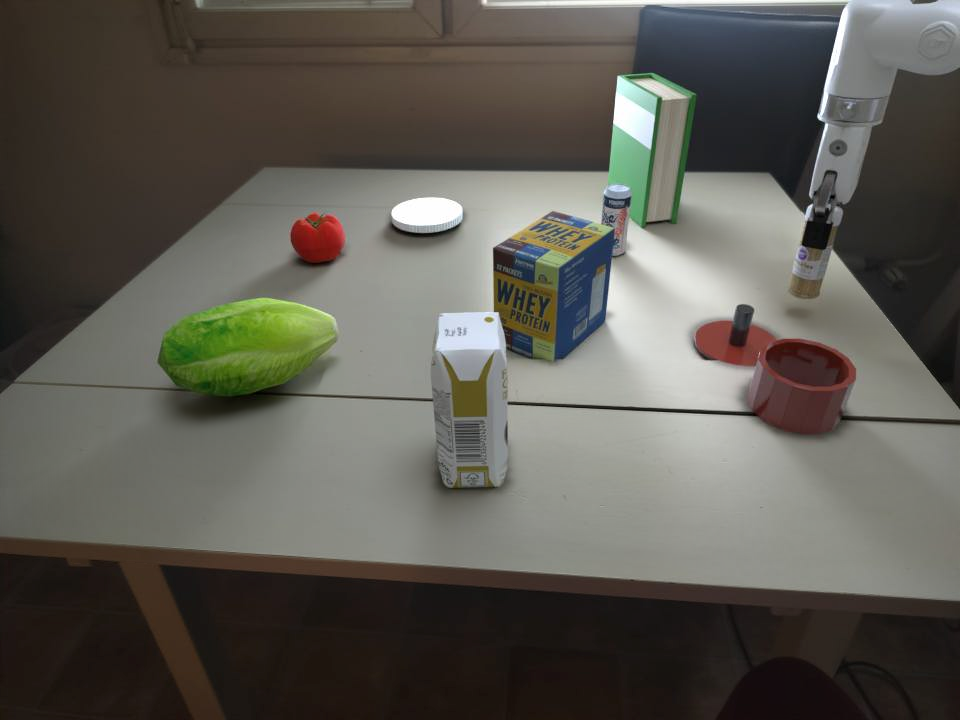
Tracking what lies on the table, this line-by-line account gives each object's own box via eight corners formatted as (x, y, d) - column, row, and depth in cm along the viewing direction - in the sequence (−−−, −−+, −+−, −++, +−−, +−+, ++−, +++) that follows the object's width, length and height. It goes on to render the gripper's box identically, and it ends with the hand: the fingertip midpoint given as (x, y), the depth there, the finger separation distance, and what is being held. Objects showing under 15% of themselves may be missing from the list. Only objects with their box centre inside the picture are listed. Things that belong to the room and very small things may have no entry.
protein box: (492, 344, 97) (490, 247, 88) (549, 300, 107) (553, 209, 98) (553, 369, 92) (558, 268, 83) (607, 320, 101) (617, 225, 92)
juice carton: (439, 498, 73) (426, 355, 62) (442, 445, 80) (431, 308, 69) (508, 497, 72) (508, 353, 61) (505, 443, 79) (505, 306, 69)
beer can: (593, 253, 120) (599, 189, 113) (605, 243, 123) (611, 180, 116) (618, 259, 118) (625, 194, 111) (629, 249, 121) (637, 185, 114)
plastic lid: (410, 243, 125) (409, 231, 124) (381, 218, 135) (380, 206, 134) (475, 227, 131) (474, 215, 129) (443, 204, 141) (442, 192, 139)
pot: (818, 386, 87) (835, 338, 83) (852, 441, 78) (872, 391, 74) (736, 385, 88) (748, 338, 83) (760, 440, 79) (774, 390, 75)
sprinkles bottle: (780, 292, 100) (800, 206, 93) (799, 283, 102) (820, 199, 95) (807, 304, 97) (830, 216, 89) (826, 294, 99) (851, 208, 91)
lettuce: (352, 391, 89) (339, 316, 82) (170, 432, 83) (140, 355, 76) (336, 341, 99) (323, 270, 92) (172, 375, 93) (146, 302, 86)
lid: (764, 326, 99) (775, 287, 95) (791, 373, 90) (803, 331, 86) (685, 326, 100) (692, 287, 96) (703, 372, 90) (712, 331, 86)
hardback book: (676, 223, 130) (696, 94, 116) (641, 227, 129) (657, 97, 115) (639, 190, 144) (653, 72, 130) (606, 194, 143) (617, 75, 129)
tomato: (351, 246, 125) (346, 209, 120) (339, 268, 118) (332, 229, 113) (303, 245, 126) (296, 208, 121) (287, 267, 118) (279, 228, 114)
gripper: (876, 127, 77) (835, 269, 87) (893, 95, 88) (855, 224, 99) (807, 120, 80) (775, 258, 91) (832, 90, 92) (801, 215, 102)
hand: (817, 239), depth 95 cm, fingers closed on sprinkles bottle, 4 cm apart
